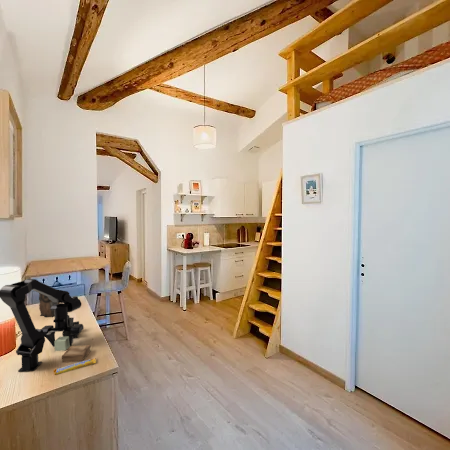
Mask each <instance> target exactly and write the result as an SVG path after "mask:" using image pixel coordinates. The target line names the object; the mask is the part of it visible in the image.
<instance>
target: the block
mask: <svg viewBox="0 0 450 450" xmlns="http://www.w3.org/2000/svg"><path fill="white" fill-rule="evenodd" d="M54 342H55V347H54V351H55V352H63V351H64V352H66V351H67V350H68V349H69V348H70V347H71V346H70V344H69V336H64V337H63V336H59V337H58V338H56V339H55V341H54Z"/></svg>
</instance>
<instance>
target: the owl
mask: <svg viewBox="0 0 450 450" xmlns="http://www.w3.org/2000/svg"><path fill="white" fill-rule="evenodd" d="M38 301H39V303H38V307H39V311H40V315H39V316H40V317H42V316H44V317H43V318H55V314H54V310H50V308H51V307H52V306H53V305H54V304H60V303H57V302H52V301H51V300H50V299H49V298H48V297H47V296H46V295H43V294H41V293H39V295H38Z"/></svg>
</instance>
